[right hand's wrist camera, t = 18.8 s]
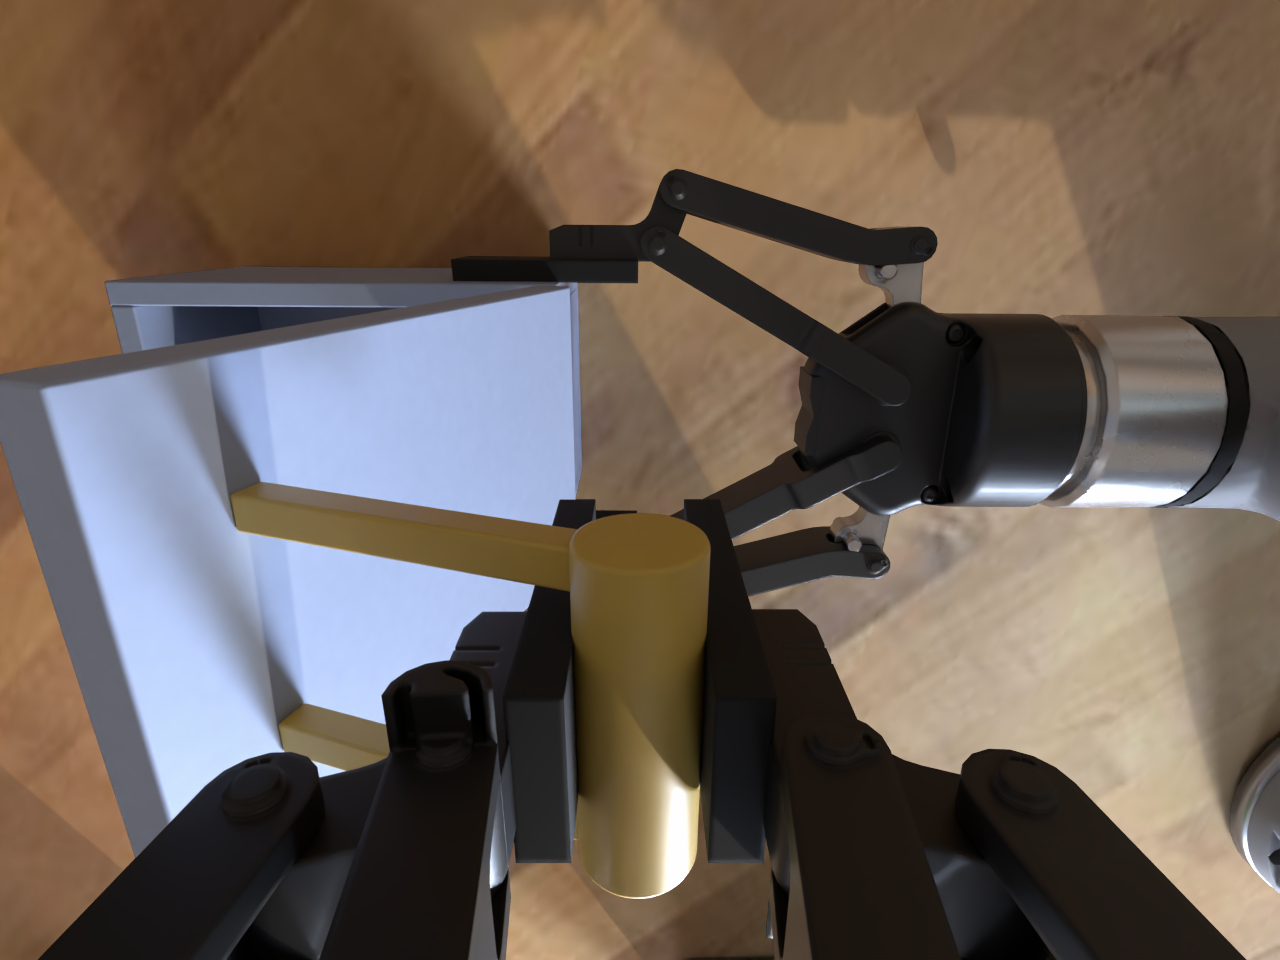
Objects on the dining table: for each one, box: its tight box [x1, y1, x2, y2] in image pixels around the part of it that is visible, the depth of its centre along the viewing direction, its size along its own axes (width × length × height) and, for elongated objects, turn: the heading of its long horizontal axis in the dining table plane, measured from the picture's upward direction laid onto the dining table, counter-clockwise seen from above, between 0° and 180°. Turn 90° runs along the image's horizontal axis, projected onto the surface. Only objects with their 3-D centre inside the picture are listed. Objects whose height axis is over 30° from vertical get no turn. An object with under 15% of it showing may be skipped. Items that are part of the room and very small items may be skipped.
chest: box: [105, 267, 582, 498], centre depth 29 cm, size 15×10×9 cm, turn 90°
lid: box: [0, 285, 711, 899], centre depth 16 cm, size 16×10×9 cm
